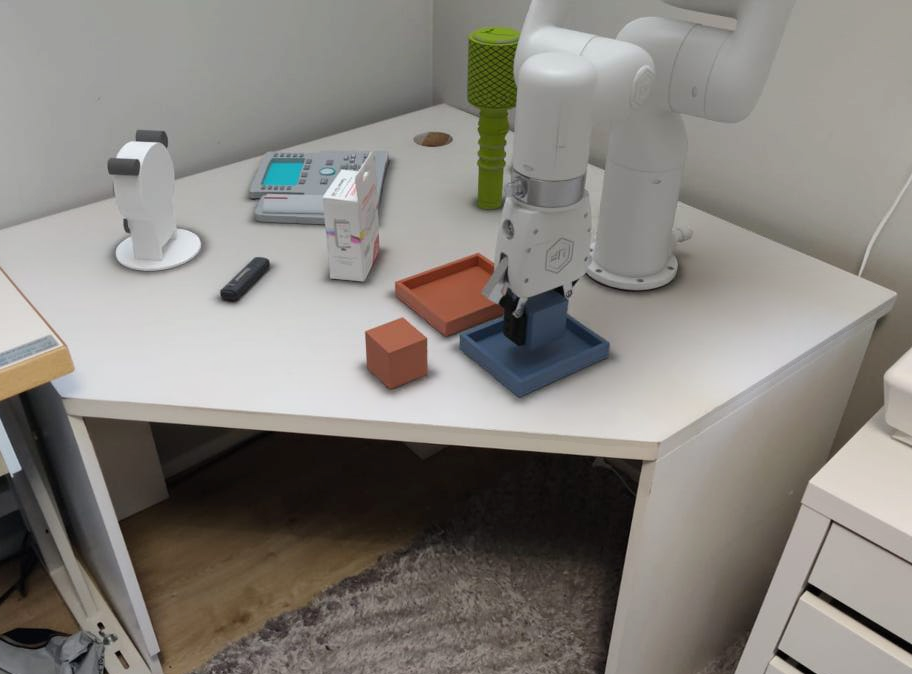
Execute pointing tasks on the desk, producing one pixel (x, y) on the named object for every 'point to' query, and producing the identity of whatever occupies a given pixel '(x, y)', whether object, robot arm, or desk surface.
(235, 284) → the usb stick
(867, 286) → the desk surface
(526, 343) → the slate block
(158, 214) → the panda figurine
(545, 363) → the slate tray
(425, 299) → the terracotta tray
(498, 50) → the microphone
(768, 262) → the desk surface
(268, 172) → the office telephone
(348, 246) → the ink cartridge box
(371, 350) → the terracotta block
